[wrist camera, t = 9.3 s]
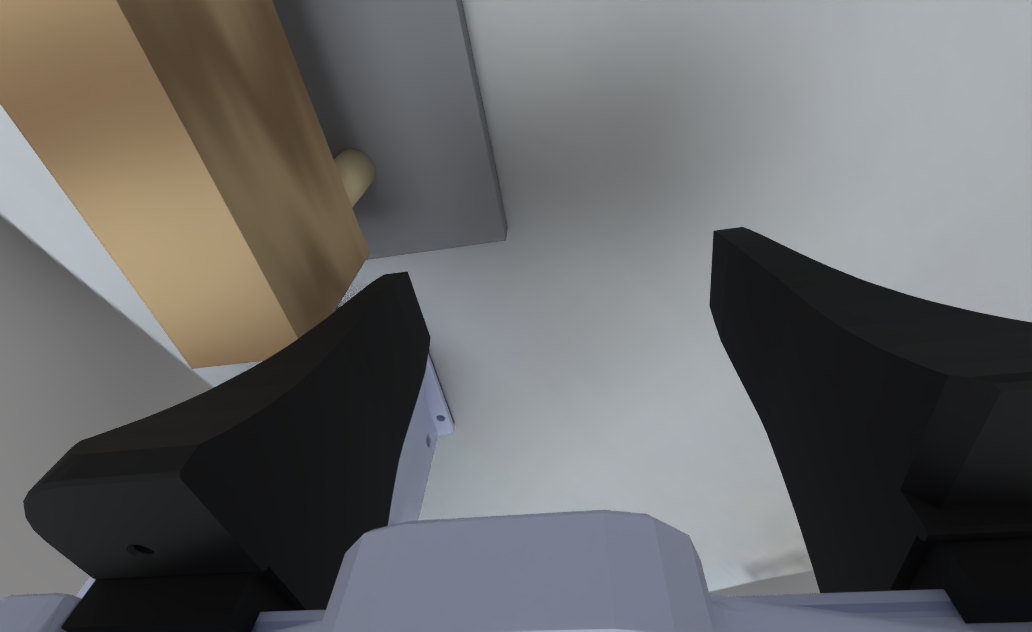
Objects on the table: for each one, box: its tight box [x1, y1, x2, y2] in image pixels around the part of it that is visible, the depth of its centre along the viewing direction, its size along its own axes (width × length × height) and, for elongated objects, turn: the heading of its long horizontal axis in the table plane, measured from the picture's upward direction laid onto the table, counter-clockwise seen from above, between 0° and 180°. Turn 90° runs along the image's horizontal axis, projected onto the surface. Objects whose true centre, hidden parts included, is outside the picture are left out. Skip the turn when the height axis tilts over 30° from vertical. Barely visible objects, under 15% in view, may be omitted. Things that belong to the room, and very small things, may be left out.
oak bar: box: [0, 0, 370, 369], centre depth 13 cm, size 14×4×6 cm, turn 10°
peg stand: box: [272, 0, 508, 260], centre depth 17 cm, size 18×13×4 cm
